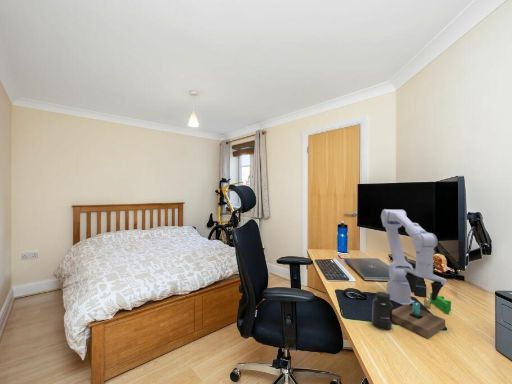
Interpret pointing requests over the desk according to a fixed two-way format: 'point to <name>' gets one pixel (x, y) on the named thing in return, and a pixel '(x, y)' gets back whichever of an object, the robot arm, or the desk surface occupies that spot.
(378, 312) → the supplement bottle
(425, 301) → the short pin
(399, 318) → the bored board
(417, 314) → the long pin
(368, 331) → the desk surface
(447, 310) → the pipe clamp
